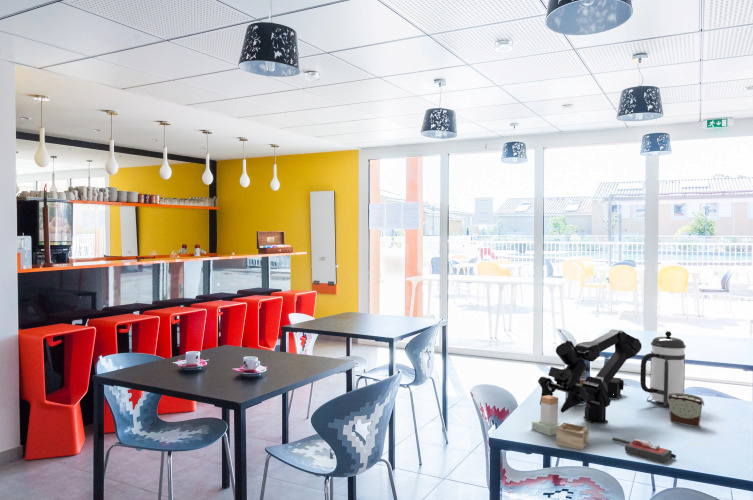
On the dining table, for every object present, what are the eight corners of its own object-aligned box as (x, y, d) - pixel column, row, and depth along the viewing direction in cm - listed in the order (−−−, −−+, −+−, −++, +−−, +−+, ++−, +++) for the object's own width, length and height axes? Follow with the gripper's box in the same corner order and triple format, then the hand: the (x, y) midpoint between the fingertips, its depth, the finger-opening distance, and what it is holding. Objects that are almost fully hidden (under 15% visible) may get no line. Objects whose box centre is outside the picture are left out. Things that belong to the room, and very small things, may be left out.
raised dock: (563, 437, 190) (563, 422, 190) (588, 442, 185) (588, 427, 185) (556, 444, 183) (556, 428, 183) (582, 449, 179) (582, 433, 178)
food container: (707, 424, 208) (708, 397, 208) (703, 428, 203) (703, 400, 203) (671, 417, 216) (671, 390, 216) (666, 420, 211) (666, 393, 211)
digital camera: (619, 399, 241) (620, 382, 241) (606, 397, 244) (606, 381, 244) (623, 394, 250) (623, 378, 250) (610, 392, 253) (610, 376, 253)
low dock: (547, 425, 202) (548, 418, 202) (566, 432, 196) (566, 424, 196) (531, 428, 198) (532, 421, 198) (549, 435, 191) (549, 427, 191)
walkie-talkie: (678, 459, 173) (613, 442, 188) (679, 444, 173) (614, 428, 188) (668, 466, 167) (601, 448, 182) (668, 451, 167) (602, 434, 182)
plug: (548, 426, 200) (549, 395, 200) (557, 429, 196) (558, 397, 196) (540, 428, 198) (541, 396, 198) (549, 431, 194) (550, 399, 194)
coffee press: (647, 396, 246) (649, 327, 246) (689, 403, 237) (691, 331, 237) (639, 405, 232) (641, 331, 232) (683, 412, 223) (685, 335, 223)
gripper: (541, 354, 208) (519, 388, 202) (584, 363, 192) (561, 400, 186) (556, 373, 212) (534, 407, 206) (598, 384, 196) (577, 420, 190)
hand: (550, 408), depth 197 cm, fingers open, 9 cm apart
